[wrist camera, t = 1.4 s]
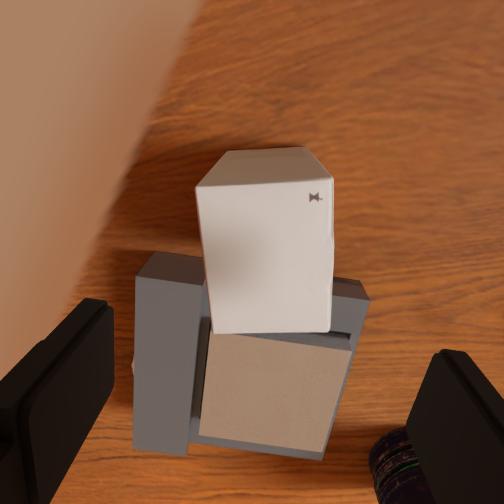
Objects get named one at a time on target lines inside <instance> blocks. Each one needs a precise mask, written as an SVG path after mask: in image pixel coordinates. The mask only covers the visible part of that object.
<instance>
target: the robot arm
mask: <svg viewBox="0 0 504 504" xmlns="http://www.w3.org/2000/svg"><path fill="white" fill-rule="evenodd" d="M113 386H114V311H113V307H111V306H108V303H107V301H105V300H98V299H91V298H85V299H83V300H82V301H81V302H80V303H79V304H78V305H77V306H76V307H75V308H74V309H73V311H72V312H71V313H70V314H69V315H68V316H67V317H66V318H65V319H64V320H63V321H62V322H61V323H60V324H59V325H58V326H57V327H56V328H55V329H54V330H53V331H52V332H51V333H50V334H49V335H48V336H47V337H46V339H44V340H42V341H40V342H39V343H37V344H36V345H35V346H34V347H33V348H32V349H31V350H30V351H29V352H28V353H27V354H26V355H25V356H24V357H23V359H21V360H20V361H19V362H18V363H17V365H15V366H14V367H13V369H12V370H11V371H10V372H9V373H8V374H7V375H6V376H5V377H4V378H3V379H2V380H1V381H0V504H50V502H51V500H52V498H53V496H54V495H55V493H56V491H57V489H58V487H59V486H60V484H61V482H62V480H63V478H64V477H65V475H66V473H67V471H68V469H69V468H70V466H71V464H72V462H73V460H74V459H75V457H76V455H77V453H78V451H79V450H80V448H81V446H82V444H83V442H84V441H85V439H86V437H87V435H88V433H89V432H90V430H91V428H92V426H93V424H94V423H95V421H96V419H97V417H98V415H99V414H100V412H101V410H102V408H103V406H104V405H105V403H106V401H107V399H108V397H109V396H110V394H111V392H112V389H113ZM406 431H407V435H408V437H409V440H410V442H411V445H412V447H413V449H414V452H415V454H416V457H417V459H418V461H419V464H420V466H421V469H422V471H423V473H424V476H425V478H426V481H427V483H428V485H429V488H430V490H431V492H432V495H433V497H434V500H435V502H436V504H504V399H503V398H502V397H501V396H500V394H499V393H498V392H497V390H496V389H495V388H494V387H493V385H492V384H491V383H490V382H489V380H488V379H487V378H486V377H485V375H484V374H483V373H482V372H481V370H480V369H479V368H478V367H477V365H476V364H475V363H474V362H473V360H472V359H471V358H470V357H469V355H468V354H467V353H466V352H463V351H456V350H449V349H442V350H441V351H440V352H439V353H435V354H434V355H433V357H432V360H431V362H430V365H429V367H428V370H427V372H426V375H425V377H424V380H423V382H422V384H421V387H420V389H419V392H418V394H417V397H416V399H415V402H414V404H413V407H412V409H411V412H410V414H409V417H408V419H407V422H406Z"/></svg>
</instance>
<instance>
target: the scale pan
mask: <svg viewBox="0 0 504 504" xmlns="http://www.w3.org/2000/svg"><path fill="white" fill-rule="evenodd" d="M351 354H352V349H351V346H350V343H349V340H348V337H347V334H346V333H345V332H338V331H331V330H329V332H327V333H321V332H309V333H238V334H213V333H212V327H211V331H210V339H209V348H208V357H207V366H206V375H205V383H204V392H203V401H202V410H201V419H200V428H199V435H202V436H209V437H216V438H223V439H230V440H237V441H244V442H251V443H258V444H265V445H272V446H280V447H287V448H294V449H301V450H308V451H315V452H322V451H323V448H324V444H325V441H326V438H327V434H328V431H329V428H330V424H331V421H332V417H333V414H334V411H335V407H336V404H337V401H338V397H339V394H340V391H341V387H342V384H343V381H344V377H345V374H346V371H347V367H348V364H349V361H350V357H351Z"/></svg>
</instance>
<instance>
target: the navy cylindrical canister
mask: <svg viewBox="0 0 504 504" xmlns="http://www.w3.org/2000/svg"><path fill="white" fill-rule="evenodd" d="M369 466H370V470H371V473H372V475H373V481H374V489H375V492H376V496H377V500H378V502H379V504H436V502H435V500H434V497H433V495H432V492H431V490H430V488H429V485H428V483H427V481H426V478H425V476H424V473H423V471H422V469H421V466H420V464H419V461H418V459H417V457H416V454H415V452H414V449H413V447H412V445H411V442H410V440H409V437H408V435H407V431H406V427H402V428H399V429H395V430H393V431H391V432H389V433H387V434H386V435H384V436H383V437H381V438H380V439H379V440H378V441H377V442H376V443H375V444H374V446H373V447H372V449H371V451H370V454H369Z"/></svg>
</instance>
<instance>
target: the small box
mask: <svg viewBox="0 0 504 504" xmlns="http://www.w3.org/2000/svg"><path fill="white" fill-rule="evenodd" d="M194 191H195V199H196V208H197V216H198V224H199V232H200V240H201V248H202V256H203V263H204V272H205V280H206V288H207V295H208V303H209V311H210V319H211V327H212V333H213V334H238V333H309V332H321V333H327V332H329V330H330V326H331V306H332V282H333V266H334V233H333V214H334V179H333V177H332V176H331V175H330V174H329V172H328V171H327V170H326V169H325V168H324V167H323V166H322V164H321V163H320V162H319V161H318V160H317V159H316V157H315V156H314V155H313V154H312V153H311V152H310V150H309V149H308V148H307V147H306V146H305V147H288V148H271V149H253V150H234V151H227V152H226V153H225V154H224V155H223V156H222V157H221V158H220V159H219V160H218V162H217V163H216V164H215V165H214V166H213V167H212V169H211V170H210V171H209V172H208V173H207V174H206V175H205V176H204V178H203V179H202V180H201V181H200V182H199V183H198V184H197V185H196V187H195V188H194Z"/></svg>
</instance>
